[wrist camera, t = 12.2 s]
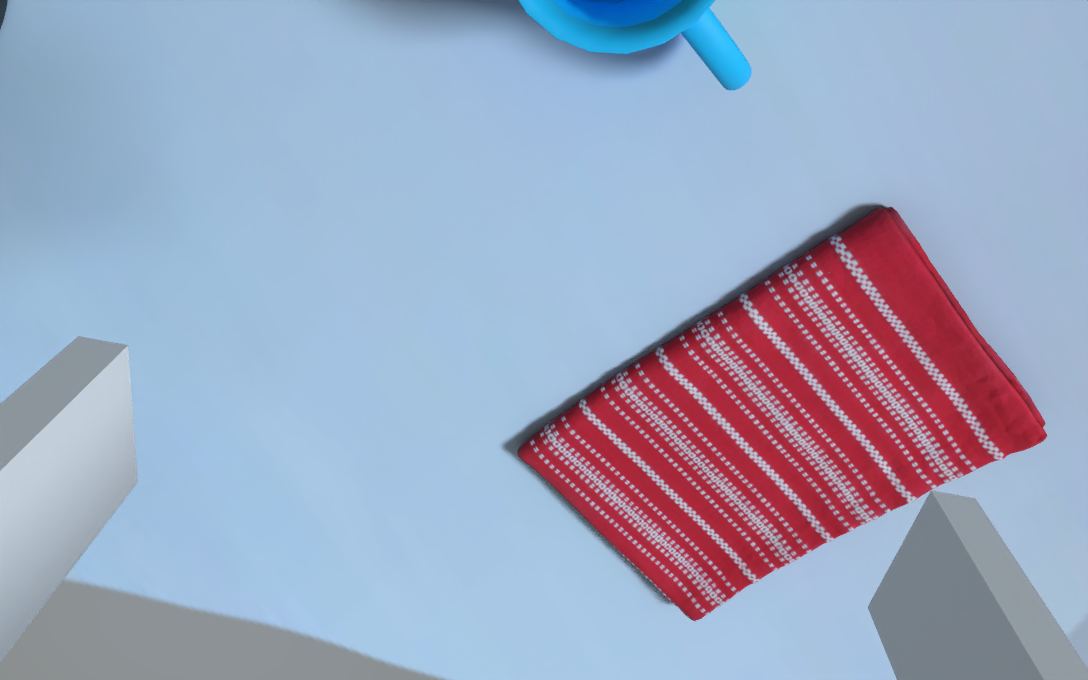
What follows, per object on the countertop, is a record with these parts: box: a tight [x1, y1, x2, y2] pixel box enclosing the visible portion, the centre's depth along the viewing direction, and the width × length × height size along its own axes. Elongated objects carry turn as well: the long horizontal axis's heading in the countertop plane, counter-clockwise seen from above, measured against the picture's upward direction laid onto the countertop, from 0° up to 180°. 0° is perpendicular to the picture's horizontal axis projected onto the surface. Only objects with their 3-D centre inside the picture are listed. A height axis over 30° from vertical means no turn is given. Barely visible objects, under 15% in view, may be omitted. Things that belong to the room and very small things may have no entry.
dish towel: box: [518, 207, 1047, 621], centre depth 44 cm, size 17×24×3 cm
